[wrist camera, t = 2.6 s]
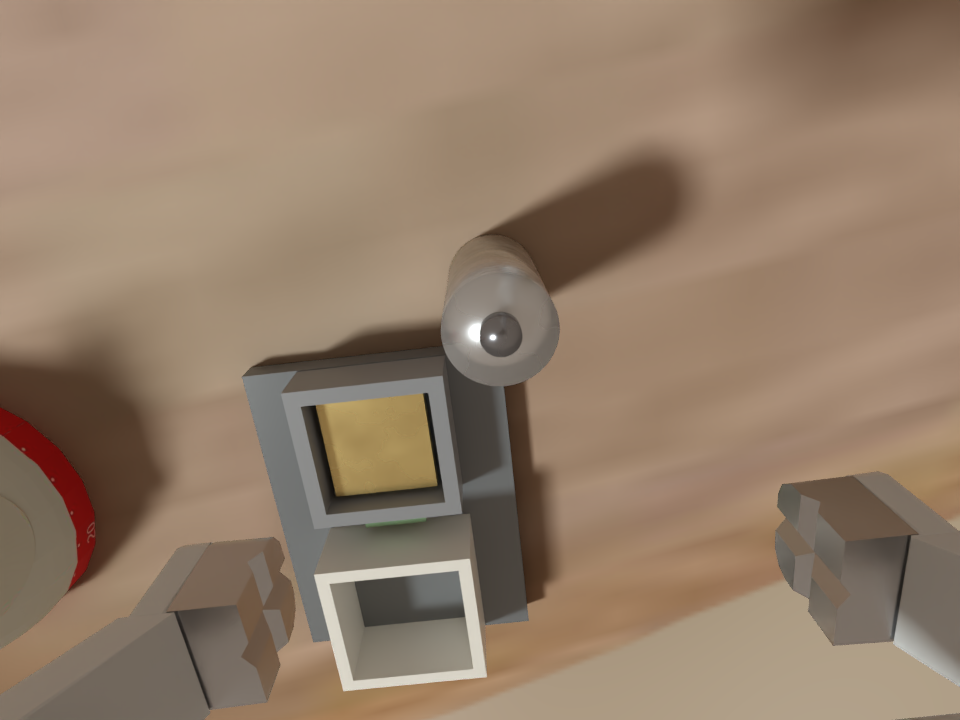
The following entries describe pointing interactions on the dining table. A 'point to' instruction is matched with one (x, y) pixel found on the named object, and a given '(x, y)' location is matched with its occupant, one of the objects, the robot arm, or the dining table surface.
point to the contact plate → (378, 444)
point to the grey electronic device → (396, 520)
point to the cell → (497, 313)
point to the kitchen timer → (38, 526)
